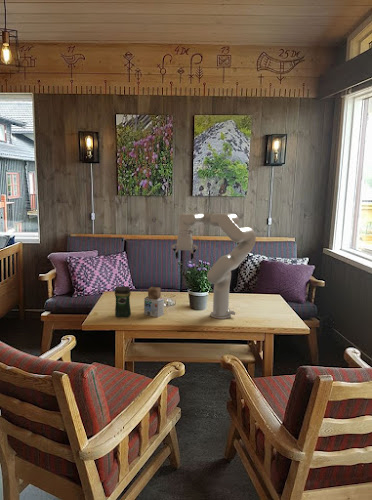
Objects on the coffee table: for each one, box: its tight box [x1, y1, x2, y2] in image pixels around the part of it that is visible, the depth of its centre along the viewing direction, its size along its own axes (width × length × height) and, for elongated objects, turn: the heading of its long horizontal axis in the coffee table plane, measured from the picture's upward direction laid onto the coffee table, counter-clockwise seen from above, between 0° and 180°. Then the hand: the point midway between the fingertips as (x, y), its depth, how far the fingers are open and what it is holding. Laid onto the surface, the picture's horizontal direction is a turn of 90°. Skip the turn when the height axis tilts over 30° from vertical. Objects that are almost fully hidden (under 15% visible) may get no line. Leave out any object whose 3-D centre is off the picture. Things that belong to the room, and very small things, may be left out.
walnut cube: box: [147, 286, 162, 300], centre depth 251 cm, size 6×6×6 cm
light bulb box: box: [143, 296, 165, 318], centre depth 252 cm, size 11×7×11 cm, turn 62°
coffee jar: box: [114, 285, 132, 319], centre depth 247 cm, size 10×8×19 cm
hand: (184, 258), depth 263 cm, fingers open, 9 cm apart
